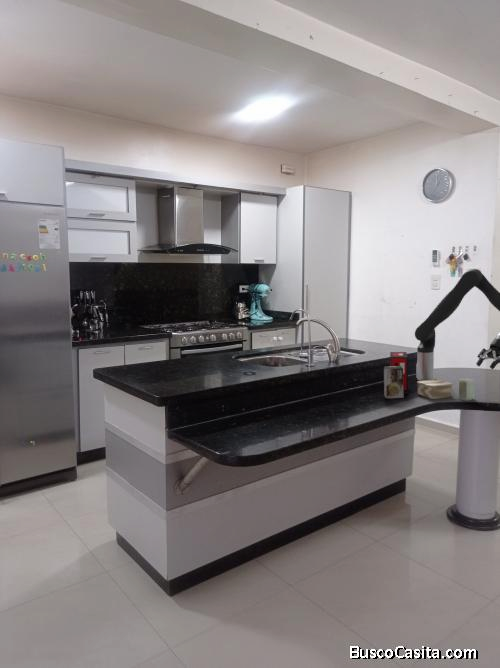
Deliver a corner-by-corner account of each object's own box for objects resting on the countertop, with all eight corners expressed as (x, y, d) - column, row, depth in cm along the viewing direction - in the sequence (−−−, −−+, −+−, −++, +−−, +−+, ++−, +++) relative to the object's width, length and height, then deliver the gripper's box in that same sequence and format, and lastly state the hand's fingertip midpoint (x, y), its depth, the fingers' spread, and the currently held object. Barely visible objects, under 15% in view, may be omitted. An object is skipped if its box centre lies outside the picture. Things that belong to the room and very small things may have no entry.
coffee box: (401, 395, 260) (401, 365, 258) (403, 398, 254) (403, 367, 252) (383, 395, 261) (383, 366, 259) (386, 398, 254) (385, 368, 252)
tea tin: (458, 398, 248) (458, 379, 247) (466, 397, 250) (466, 378, 249) (466, 400, 243) (466, 381, 242) (474, 399, 245) (474, 380, 244)
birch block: (416, 394, 261) (416, 381, 260) (436, 391, 265) (436, 378, 264) (432, 399, 249) (432, 386, 248) (452, 396, 253) (452, 383, 252)
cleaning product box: (407, 393, 263) (407, 357, 260) (390, 393, 265) (390, 357, 262) (406, 386, 278) (406, 352, 276) (390, 386, 281) (390, 352, 278)
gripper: (486, 336, 257) (469, 360, 254) (509, 339, 243) (491, 364, 241) (493, 345, 259) (477, 368, 257) (516, 348, 246) (499, 373, 243)
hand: (484, 366), depth 249 cm, fingers open, 8 cm apart
